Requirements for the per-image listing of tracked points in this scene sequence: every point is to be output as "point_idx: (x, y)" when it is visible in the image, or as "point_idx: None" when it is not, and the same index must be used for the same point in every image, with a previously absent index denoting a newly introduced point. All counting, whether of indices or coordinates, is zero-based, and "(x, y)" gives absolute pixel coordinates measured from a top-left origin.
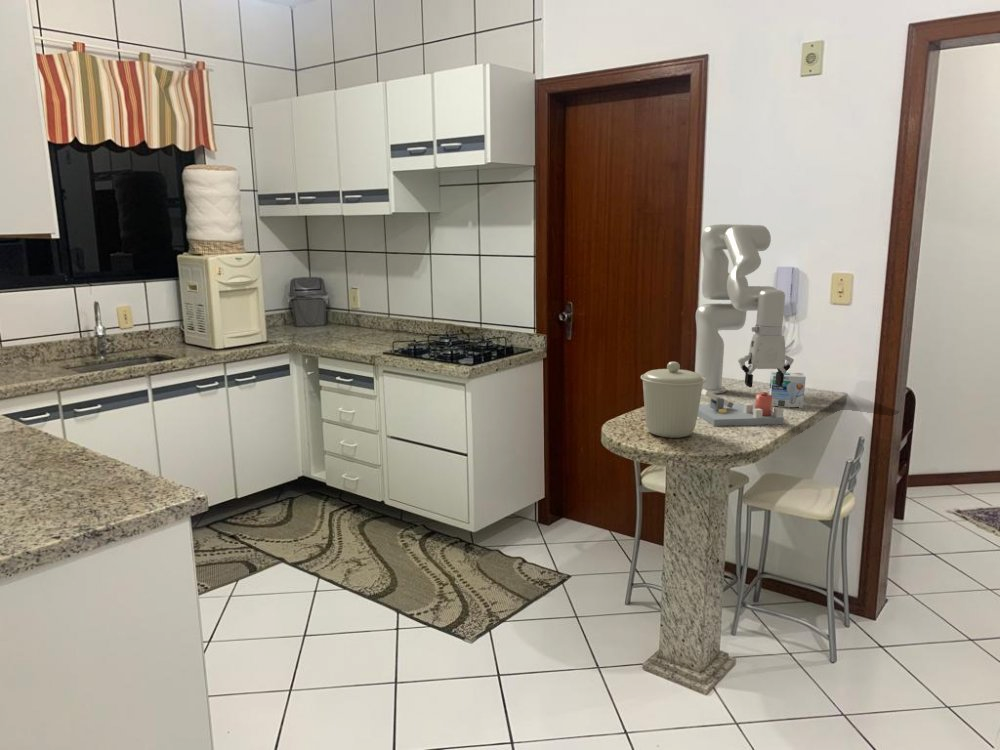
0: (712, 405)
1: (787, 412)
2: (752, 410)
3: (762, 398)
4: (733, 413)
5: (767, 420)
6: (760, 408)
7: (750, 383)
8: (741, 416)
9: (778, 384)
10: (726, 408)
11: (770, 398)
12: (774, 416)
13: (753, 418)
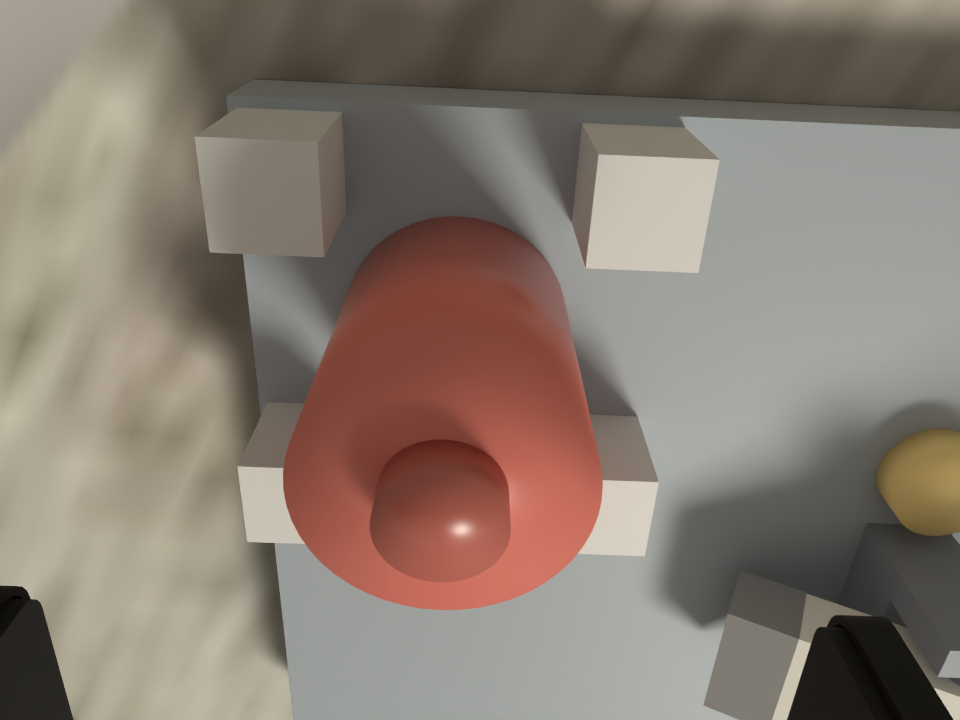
0: None
1: (5, 558)
2: None
3: (547, 368)
4: (818, 417)
5: (495, 101)
6: (546, 299)
7: (933, 693)
8: (827, 258)
9: (35, 668)
10: None
11: (376, 347)
12: (344, 180)
13: (730, 120)
